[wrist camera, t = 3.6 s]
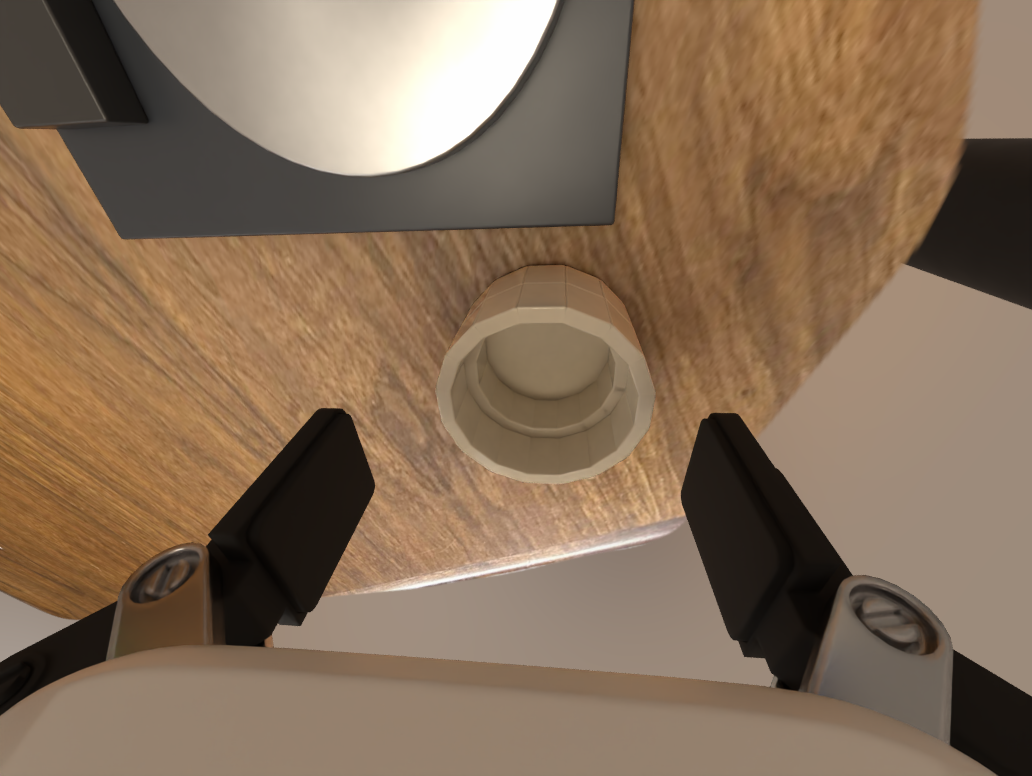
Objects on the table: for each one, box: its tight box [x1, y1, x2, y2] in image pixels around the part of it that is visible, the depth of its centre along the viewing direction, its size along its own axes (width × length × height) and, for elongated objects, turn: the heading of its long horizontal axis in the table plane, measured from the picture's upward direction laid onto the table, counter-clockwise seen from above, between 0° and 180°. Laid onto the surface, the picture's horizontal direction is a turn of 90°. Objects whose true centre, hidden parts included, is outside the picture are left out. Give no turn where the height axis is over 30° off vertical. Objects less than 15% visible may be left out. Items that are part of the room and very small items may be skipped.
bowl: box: [435, 265, 656, 484], centre depth 14 cm, size 7×7×5 cm
